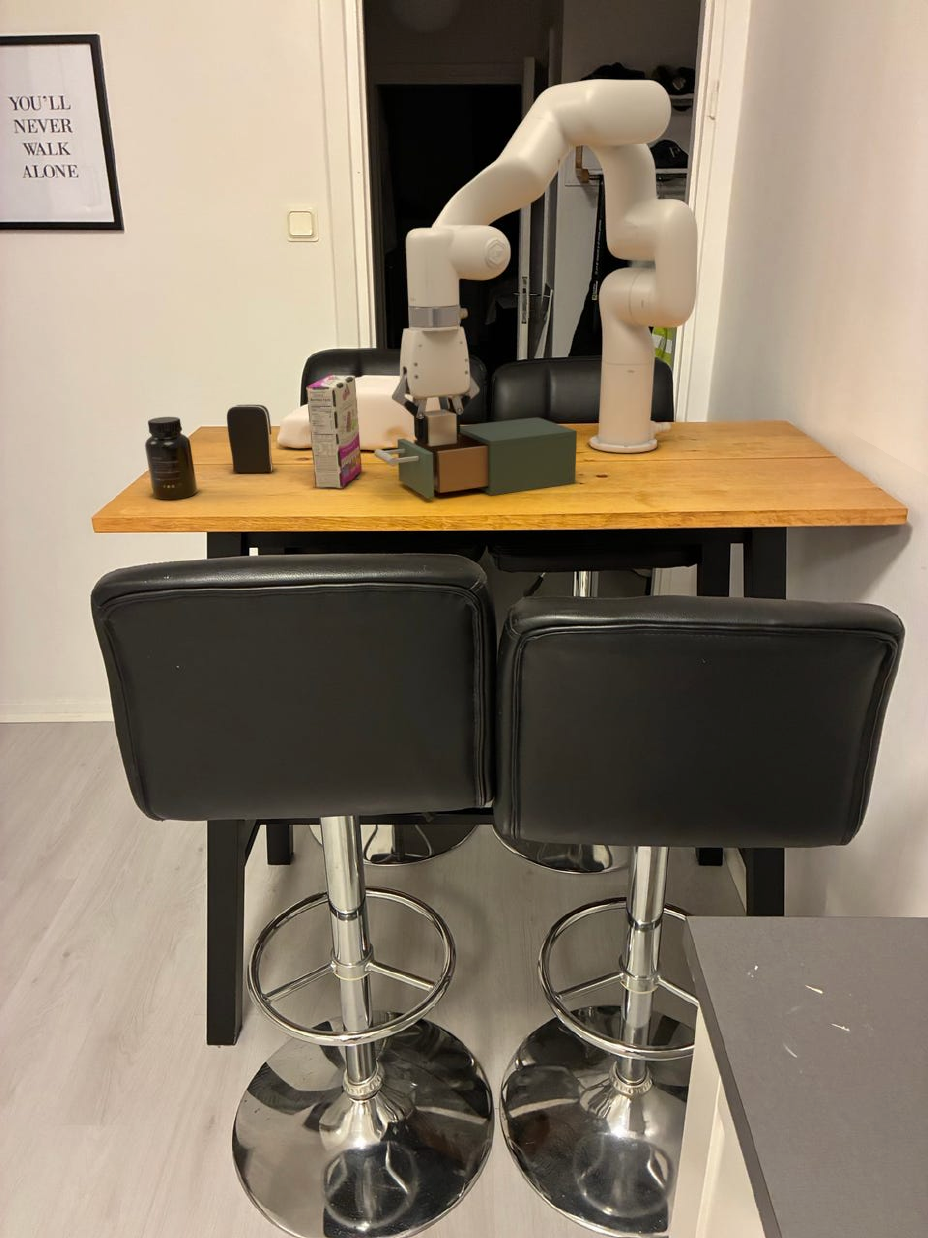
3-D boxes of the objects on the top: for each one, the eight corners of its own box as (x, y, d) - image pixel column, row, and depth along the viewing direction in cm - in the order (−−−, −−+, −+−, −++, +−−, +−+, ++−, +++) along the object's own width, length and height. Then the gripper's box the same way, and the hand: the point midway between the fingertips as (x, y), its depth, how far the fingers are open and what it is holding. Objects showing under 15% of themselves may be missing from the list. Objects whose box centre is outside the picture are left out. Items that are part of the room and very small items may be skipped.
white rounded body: (427, 455, 167) (425, 381, 161) (273, 450, 172) (266, 378, 166) (448, 433, 184) (447, 365, 178) (308, 429, 189) (302, 363, 184)
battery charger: (277, 468, 159) (270, 402, 155) (271, 473, 156) (265, 406, 151) (237, 468, 160) (230, 402, 155) (231, 473, 156) (224, 406, 151)
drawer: (397, 502, 136) (395, 457, 133) (370, 484, 145) (368, 442, 142) (510, 486, 143) (511, 443, 140) (478, 470, 153) (478, 429, 150)
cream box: (444, 437, 144) (444, 409, 142) (456, 443, 140) (456, 414, 138) (418, 440, 142) (417, 411, 140) (430, 446, 139) (429, 417, 137)
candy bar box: (335, 471, 157) (328, 374, 150) (362, 472, 156) (356, 375, 149) (313, 488, 147) (304, 385, 140) (342, 489, 146) (335, 386, 139)
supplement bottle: (158, 489, 147) (147, 415, 142) (200, 488, 148) (191, 414, 143) (148, 501, 141) (136, 424, 136) (193, 499, 141) (182, 423, 137)
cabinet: (490, 495, 142) (490, 441, 138) (456, 477, 152) (455, 426, 149) (575, 483, 148) (577, 430, 144) (536, 466, 158) (537, 417, 155)
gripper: (473, 313, 140) (475, 430, 148) (371, 319, 134) (378, 442, 141) (496, 317, 134) (496, 439, 141) (390, 324, 127) (396, 452, 135)
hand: (437, 439), depth 141 cm, fingers closed on cream box, 4 cm apart
